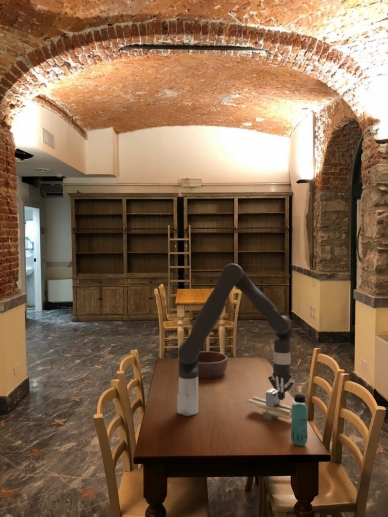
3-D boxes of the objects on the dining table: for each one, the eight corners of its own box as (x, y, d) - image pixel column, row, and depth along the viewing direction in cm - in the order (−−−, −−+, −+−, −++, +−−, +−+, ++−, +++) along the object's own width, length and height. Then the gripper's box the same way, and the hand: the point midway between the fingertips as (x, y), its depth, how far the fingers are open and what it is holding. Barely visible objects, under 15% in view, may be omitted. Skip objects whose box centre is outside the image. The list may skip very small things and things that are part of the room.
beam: (288, 426, 181) (288, 412, 181) (246, 413, 195) (246, 400, 194) (295, 421, 187) (295, 407, 186) (254, 408, 200) (254, 395, 200)
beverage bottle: (287, 444, 166) (287, 395, 165) (296, 439, 170) (297, 391, 169) (301, 450, 161) (302, 400, 160) (310, 444, 166) (311, 395, 165)
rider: (273, 411, 186) (273, 393, 186) (265, 408, 189) (265, 391, 188) (280, 406, 191) (280, 389, 190) (272, 404, 193) (272, 387, 193)
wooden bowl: (179, 377, 244) (179, 360, 243) (195, 365, 267) (195, 349, 266) (219, 383, 234) (219, 365, 233) (233, 370, 257) (233, 353, 256)
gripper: (264, 360, 187) (264, 398, 188) (291, 366, 178) (291, 406, 179) (272, 356, 193) (272, 393, 194) (299, 362, 184) (298, 400, 185)
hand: (281, 399), depth 186 cm, fingers closed
